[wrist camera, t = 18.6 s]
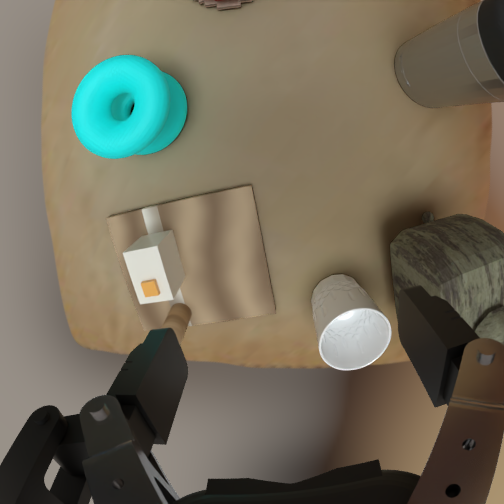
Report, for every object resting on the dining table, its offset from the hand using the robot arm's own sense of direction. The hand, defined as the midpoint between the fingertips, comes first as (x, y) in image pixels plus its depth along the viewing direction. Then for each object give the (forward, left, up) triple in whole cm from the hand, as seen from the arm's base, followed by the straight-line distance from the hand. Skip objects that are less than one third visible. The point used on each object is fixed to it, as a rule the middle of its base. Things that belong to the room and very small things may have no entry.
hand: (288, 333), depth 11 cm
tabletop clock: (-17, +11, -27) cm, 34 cm away
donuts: (+11, -13, -27) cm, 32 cm away
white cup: (-7, +14, -27) cm, 31 cm away
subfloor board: (+10, +6, -27) cm, 30 cm away
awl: (+13, +12, -26) cm, 31 cm away
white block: (+13, +4, -26) cm, 29 cm away
